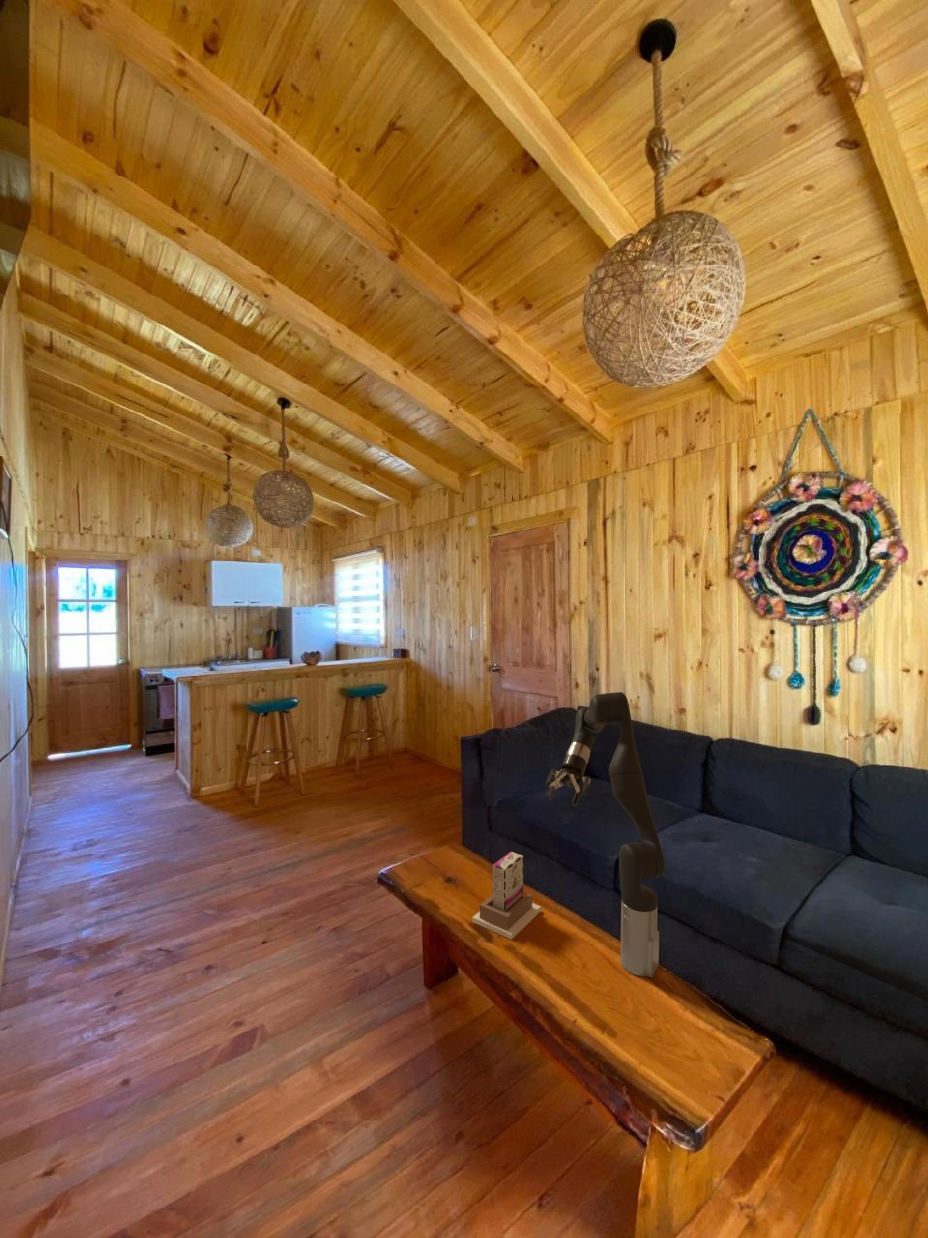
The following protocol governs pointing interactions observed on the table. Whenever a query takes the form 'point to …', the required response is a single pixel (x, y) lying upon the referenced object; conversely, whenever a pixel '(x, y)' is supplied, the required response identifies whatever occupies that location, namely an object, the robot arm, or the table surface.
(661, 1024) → the table surface
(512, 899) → the candy bar box
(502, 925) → the slot stand
